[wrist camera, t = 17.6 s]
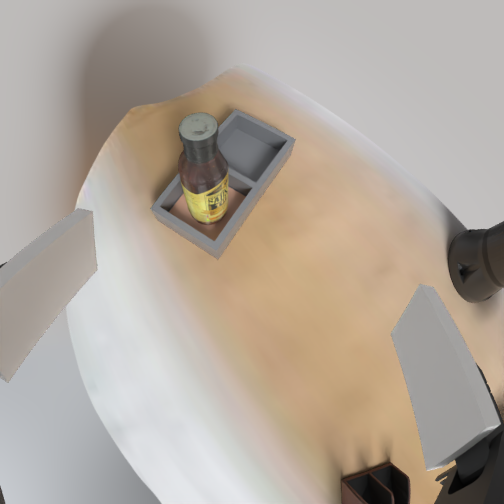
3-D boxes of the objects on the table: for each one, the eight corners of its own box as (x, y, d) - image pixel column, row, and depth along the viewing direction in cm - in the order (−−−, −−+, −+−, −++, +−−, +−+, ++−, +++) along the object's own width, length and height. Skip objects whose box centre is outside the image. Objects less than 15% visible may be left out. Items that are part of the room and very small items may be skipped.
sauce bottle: (217, 233, 45) (208, 164, 26) (182, 217, 45) (152, 144, 26) (235, 198, 47) (238, 116, 28) (201, 184, 47) (186, 100, 28)
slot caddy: (290, 155, 51) (295, 139, 46) (218, 259, 45) (216, 251, 40) (235, 126, 52) (235, 109, 47) (158, 220, 46) (150, 208, 41)
